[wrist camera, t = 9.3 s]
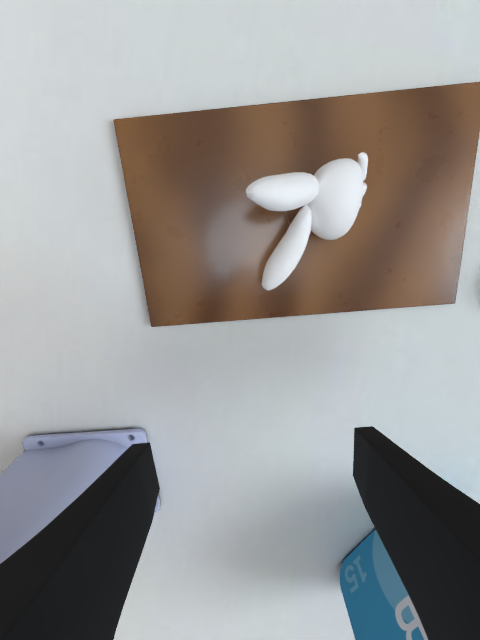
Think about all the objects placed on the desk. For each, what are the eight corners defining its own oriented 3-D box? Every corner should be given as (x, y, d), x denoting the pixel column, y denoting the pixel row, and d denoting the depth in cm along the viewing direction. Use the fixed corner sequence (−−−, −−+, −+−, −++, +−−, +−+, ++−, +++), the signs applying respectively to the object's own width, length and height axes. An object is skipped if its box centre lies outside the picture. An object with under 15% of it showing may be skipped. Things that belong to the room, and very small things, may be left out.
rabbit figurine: (376, 240, 16) (279, 310, 14) (325, 221, 19) (235, 277, 16) (405, 124, 12) (270, 196, 10) (333, 117, 14) (211, 174, 12)
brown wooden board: (153, 325, 18) (151, 327, 18) (116, 122, 15) (113, 119, 15) (450, 302, 18) (455, 303, 17) (480, 85, 14) (487, 80, 14)
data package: (423, 479, 22) (623, 743, 10) (463, 502, 23) (695, 775, 11) (333, 567, 25) (412, 849, 13) (372, 585, 25) (479, 869, 14)
